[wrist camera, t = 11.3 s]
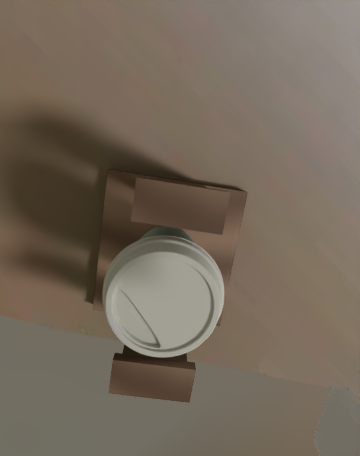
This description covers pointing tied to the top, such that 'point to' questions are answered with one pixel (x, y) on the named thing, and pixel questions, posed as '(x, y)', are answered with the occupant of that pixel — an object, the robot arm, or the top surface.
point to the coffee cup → (163, 294)
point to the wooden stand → (136, 228)
